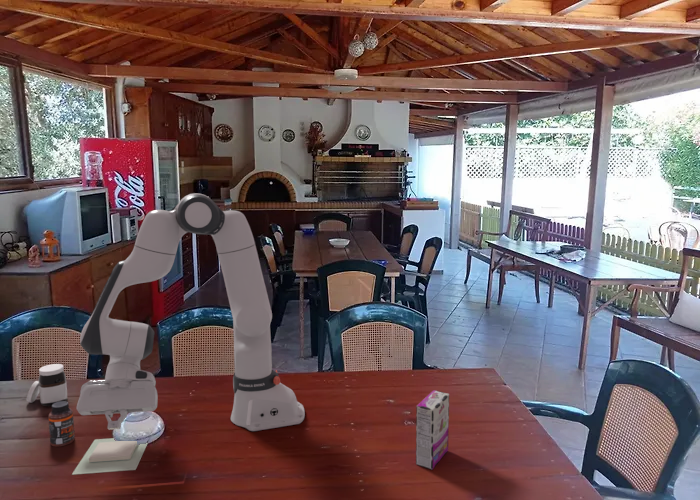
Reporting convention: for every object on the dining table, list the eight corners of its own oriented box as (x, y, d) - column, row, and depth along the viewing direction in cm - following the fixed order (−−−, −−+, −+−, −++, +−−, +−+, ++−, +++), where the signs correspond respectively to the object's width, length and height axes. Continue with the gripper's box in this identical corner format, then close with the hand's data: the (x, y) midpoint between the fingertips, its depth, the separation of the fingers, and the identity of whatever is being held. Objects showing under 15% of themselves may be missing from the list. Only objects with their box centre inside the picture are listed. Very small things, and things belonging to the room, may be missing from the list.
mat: (151, 437, 146) (151, 435, 146) (135, 471, 129) (135, 469, 129) (94, 441, 143) (94, 439, 143) (71, 476, 127) (71, 474, 127)
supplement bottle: (64, 449, 139) (61, 409, 137) (45, 447, 140) (41, 407, 139) (80, 438, 145) (77, 400, 143) (61, 436, 146) (58, 398, 144)
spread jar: (69, 404, 166) (66, 370, 164) (28, 413, 160) (24, 377, 158) (65, 391, 176) (62, 358, 174) (26, 399, 169) (23, 365, 168)
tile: (137, 439, 141) (129, 455, 133) (138, 444, 141) (130, 460, 133) (99, 442, 139) (88, 458, 131) (99, 446, 139) (89, 463, 132)
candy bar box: (431, 445, 142) (433, 389, 139) (448, 450, 139) (450, 393, 137) (414, 464, 132) (415, 404, 130) (432, 470, 130) (434, 409, 127)
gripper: (79, 376, 140) (68, 427, 132) (157, 372, 143) (151, 422, 135) (86, 385, 145) (75, 435, 137) (161, 381, 149) (155, 429, 140)
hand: (113, 428), depth 136 cm, fingers closed
